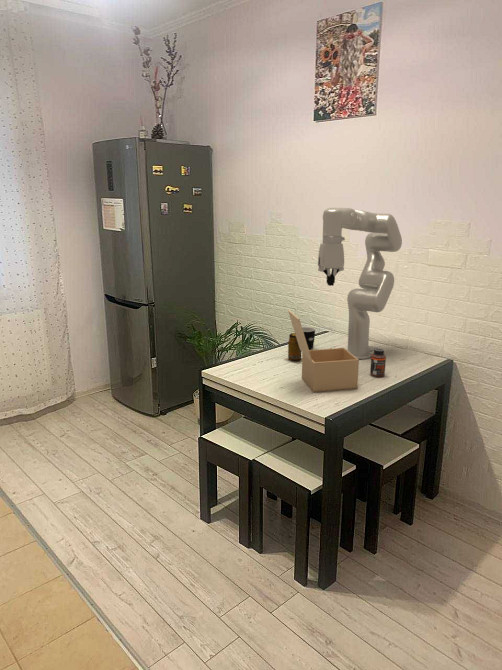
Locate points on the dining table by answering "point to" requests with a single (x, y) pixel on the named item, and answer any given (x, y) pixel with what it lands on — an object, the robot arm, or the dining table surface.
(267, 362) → the dining table surface
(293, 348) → the condiment
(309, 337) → the mug
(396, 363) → the dining table surface
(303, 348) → the lid flap
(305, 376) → the carton
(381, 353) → the supplement bottle
